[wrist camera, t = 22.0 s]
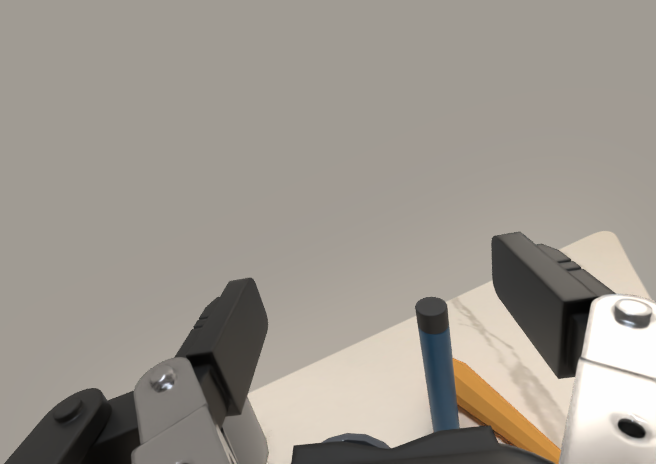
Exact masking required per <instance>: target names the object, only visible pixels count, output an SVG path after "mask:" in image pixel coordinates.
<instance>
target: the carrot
mask: <svg viewBox="0 0 656 464" xmlns="http://www.w3.org/2000/svg"><path fill="white" fill-rule="evenodd" d="M452 359H453V368H454V378H455V388H456V398H457V404H458V405H459V406H461V407H462V408H464V409H465V410H466V411H468V412H469V413H471V414H472V415H473V416H475V417H476V418H478V419H479V420H480V421H482V422H483V423H485V424H486V425H487V426H489V425H491V427H492V429H493V430H494V431H496V432H497V433H499V434H500V435H501V436H503V437H504V438H506V439H507V440H508V441H510V442H511V443H513V444H514V445H515V446H517V447H519V448H522V449H525V450H527V451H530V452H533V453H535V454H537V455H540V456H542V457H544V458H546V459H548V460H550V461H552V462H554V463H555V464H559V458H560V453H561V450H560V449H559V448H558V447H557V446H556V445H555V444H554V443H552V442H551V441H550V440H549V439H548V438H547V437H546V436H545V435H544V434H543V433H541V432H540V431H539V430H538V429H537V428H536V427H535V426H534V425H533V424H532V423H530V422H529V421H528V420H527V419H526V418H525V417H524V416H523V415H522V414H521V413H519V412H518V411H517V410H516V409H515V408H514V407H513V406H512V405H511V404H510V403H508V402H507V401H506V400H505V399H504V398H503V397H502V396H501V395H500V394H499V393H497V392H496V391H495V390H494V389H493V388H492V387H491V386H490V385H489V384H488V383H486V382H485V381H484V380H483V379H482V378H481V377H480V376H479V375H478V374H477V373H475V372H474V371H473V370H472V369H471V368H470V367H469V366H468V365H467V364H466V363H463V362H461V361H459V360H456V359H454V358H452Z"/></svg>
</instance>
